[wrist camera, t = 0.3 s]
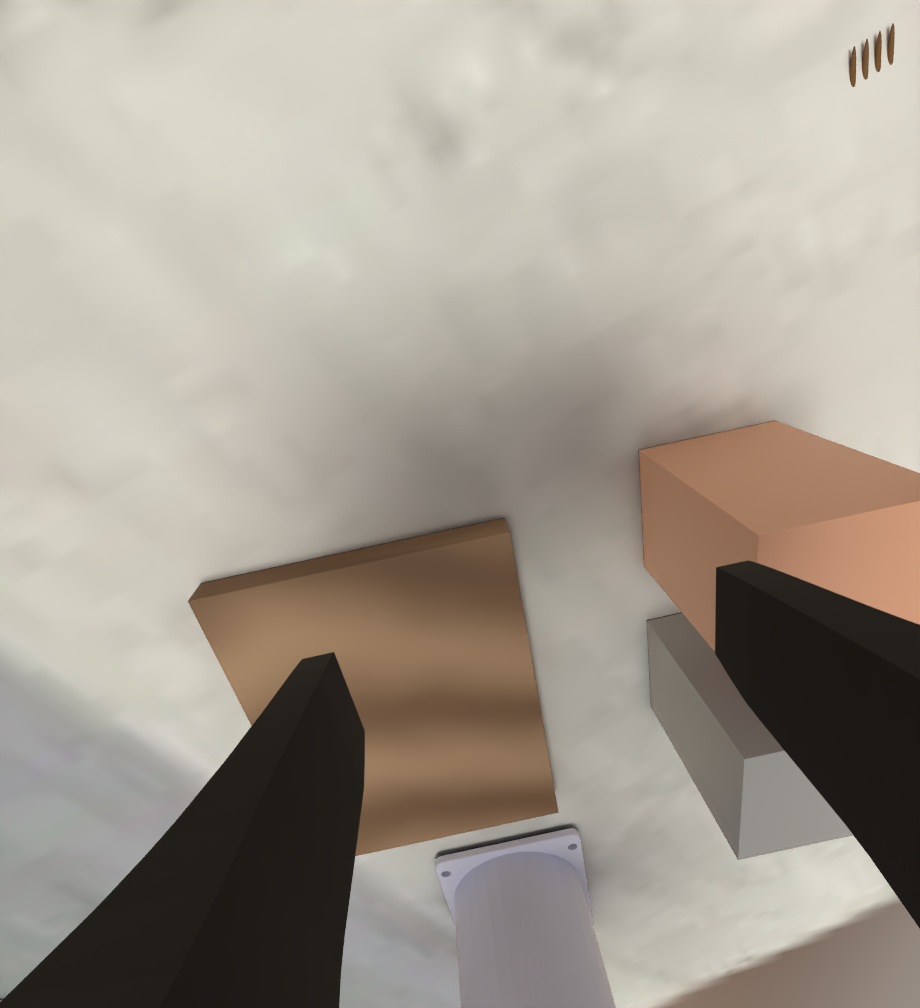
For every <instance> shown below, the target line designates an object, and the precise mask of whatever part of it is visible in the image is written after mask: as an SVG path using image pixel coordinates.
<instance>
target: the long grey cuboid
mask: <svg viewBox="0 0 920 1008" xmlns="http://www.w3.org/2000/svg"><path fill="white" fill-rule="evenodd" d="M647 632H648V654H649V675H650V696H651V707H652V709H653V711H654V713H655V714H656V716H657V718H658V720H659V721H660V723H661V725H662V727H663V728H664V730H665V732H666V734H667V736H668V737H669V739H670V741H671V743H672V744H673V746H674V748H675V750H676V751H677V753H678V755H679V757H680V758H681V760H682V762H683V764H684V765H685V767H686V769H687V771H688V772H689V774H690V776H691V778H692V779H693V781H694V783H695V785H696V787H697V788H698V790H699V792H700V794H701V795H702V797H703V799H704V801H705V802H706V804H707V806H708V808H709V809H710V811H711V813H712V815H713V816H714V818H715V820H716V822H717V823H718V825H719V827H720V829H721V830H722V832H723V834H724V836H725V838H726V839H727V841H728V843H729V845H730V846H731V848H732V850H733V852H734V853H735V855H736V857H737V859H738V860H740V859H744V858H749V857H754V856H758V855H763V854H768V853H772V852H777V851H782V850H786V849H791V848H796V847H800V846H805V845H810V844H814V843H819V842H823V841H828V840H833V839H837V838H842V837H847V836H851V835H853V834H852V833H851V831H850V830H849V829H848V827H847V826H846V825H845V824H844V822H843V821H842V820H841V819H840V817H839V816H838V815H837V814H836V813H835V811H834V810H833V809H832V808H831V807H830V805H829V804H828V803H827V802H826V800H825V799H824V798H823V797H822V796H821V794H820V793H819V792H818V791H817V789H816V788H815V787H814V786H813V785H812V783H811V782H810V781H809V780H808V779H807V777H806V776H805V775H804V774H803V772H802V771H801V770H800V769H799V768H798V766H797V765H796V764H795V763H794V762H793V760H792V759H791V758H790V757H789V755H788V754H787V753H786V752H785V751H784V749H783V748H782V747H781V746H780V744H779V743H778V742H777V741H776V740H775V738H774V737H773V736H772V735H771V733H770V732H769V731H768V730H767V728H766V727H765V726H764V725H763V723H762V722H761V721H760V720H759V719H758V717H757V716H756V715H755V714H754V712H753V711H752V710H751V708H750V707H749V706H748V705H747V703H746V702H745V700H744V699H743V697H742V696H741V694H740V693H739V691H738V690H737V688H736V687H735V685H734V684H733V682H732V681H731V679H730V677H729V676H728V674H727V672H726V671H725V669H724V668H723V666H722V664H721V663H720V661H719V659H718V658H717V656H716V654H715V651H714V650H713V649H712V648H711V647H710V645H709V644H708V643H707V642H706V641H705V639H704V638H703V637H702V636H701V635H700V633H699V632H698V631H697V630H696V629H695V627H694V626H693V625H692V624H691V623H690V621H689V620H688V619H687V618H686V617H685V615H684V614H683V613H680V614H675V615H671V616H666V617H661V618H657V619H652V620H647Z"/></svg>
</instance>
